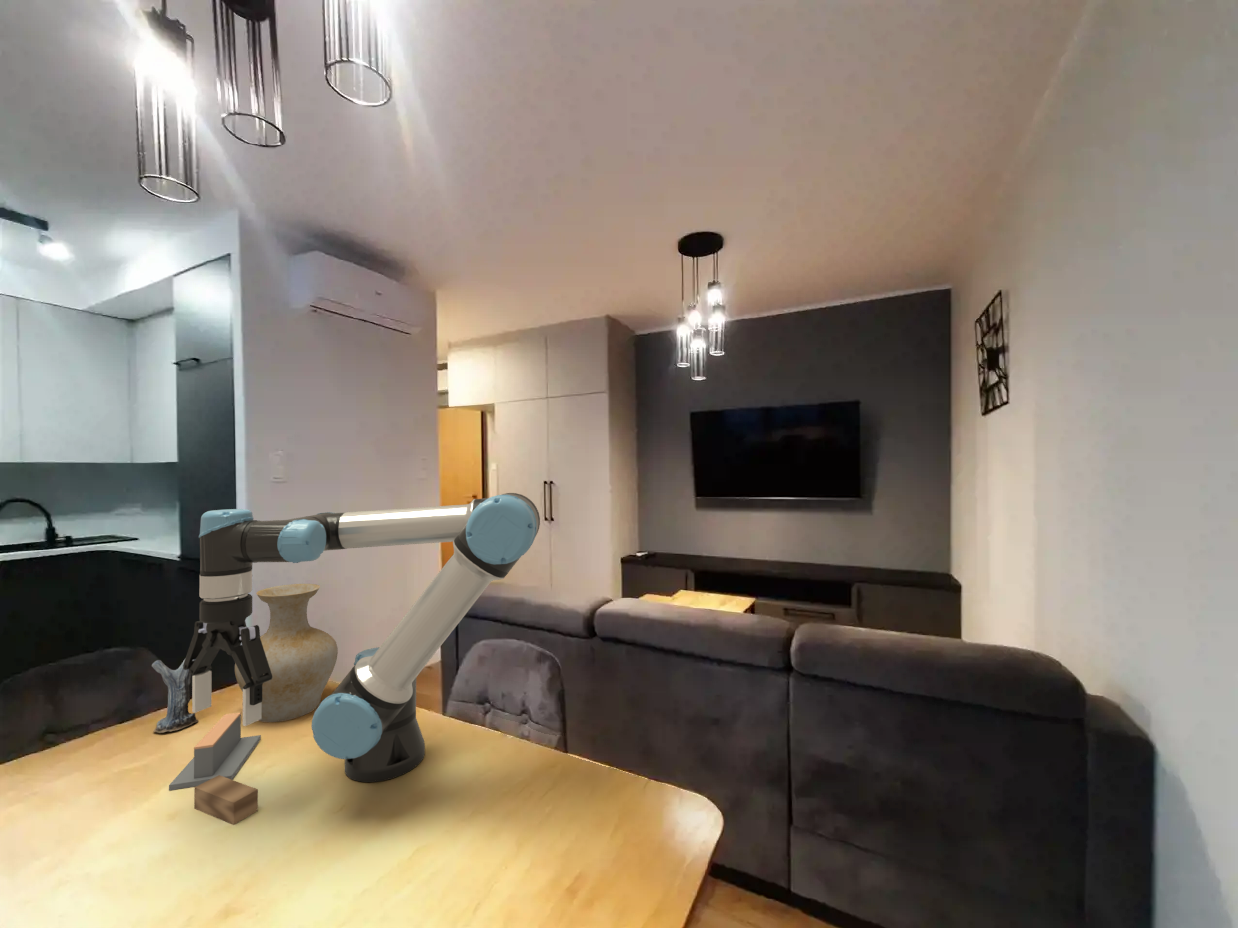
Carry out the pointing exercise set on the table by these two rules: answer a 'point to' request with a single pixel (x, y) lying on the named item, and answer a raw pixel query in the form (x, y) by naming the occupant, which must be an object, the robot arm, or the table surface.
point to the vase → (293, 655)
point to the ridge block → (217, 753)
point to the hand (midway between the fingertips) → (226, 715)
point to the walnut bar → (226, 799)
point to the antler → (175, 698)
